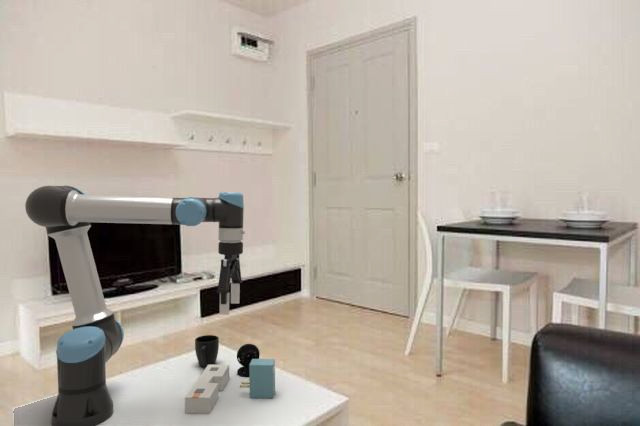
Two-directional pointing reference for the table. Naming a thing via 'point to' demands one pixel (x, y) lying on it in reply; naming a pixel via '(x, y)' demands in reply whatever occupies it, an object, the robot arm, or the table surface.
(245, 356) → the webcam
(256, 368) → the charger
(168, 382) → the table surface
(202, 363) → the mug
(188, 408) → the power strip
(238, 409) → the table surface
